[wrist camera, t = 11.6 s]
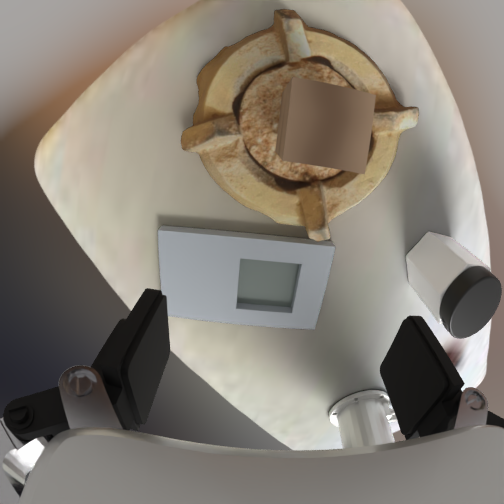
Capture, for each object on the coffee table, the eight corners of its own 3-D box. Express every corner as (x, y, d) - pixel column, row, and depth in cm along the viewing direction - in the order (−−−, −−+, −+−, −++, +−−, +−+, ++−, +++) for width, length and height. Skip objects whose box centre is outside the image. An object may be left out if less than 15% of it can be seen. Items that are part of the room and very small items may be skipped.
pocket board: (332, 241, 32) (335, 246, 31) (312, 322, 38) (314, 329, 36) (162, 225, 32) (157, 230, 31) (166, 308, 37) (163, 315, 36)
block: (342, 103, 22) (375, 95, 15) (334, 160, 24) (364, 174, 17) (282, 92, 22) (292, 76, 15) (275, 151, 24) (282, 160, 17)
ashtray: (428, 173, 29) (451, 182, 24) (260, 259, 34) (260, 280, 30) (340, -2, 20) (352, -19, 16) (153, 88, 26) (135, 83, 21)
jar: (394, 282, 35) (434, 340, 24) (414, 226, 31) (468, 272, 20) (441, 288, 35) (482, 338, 24) (461, 238, 32) (513, 280, 21)
